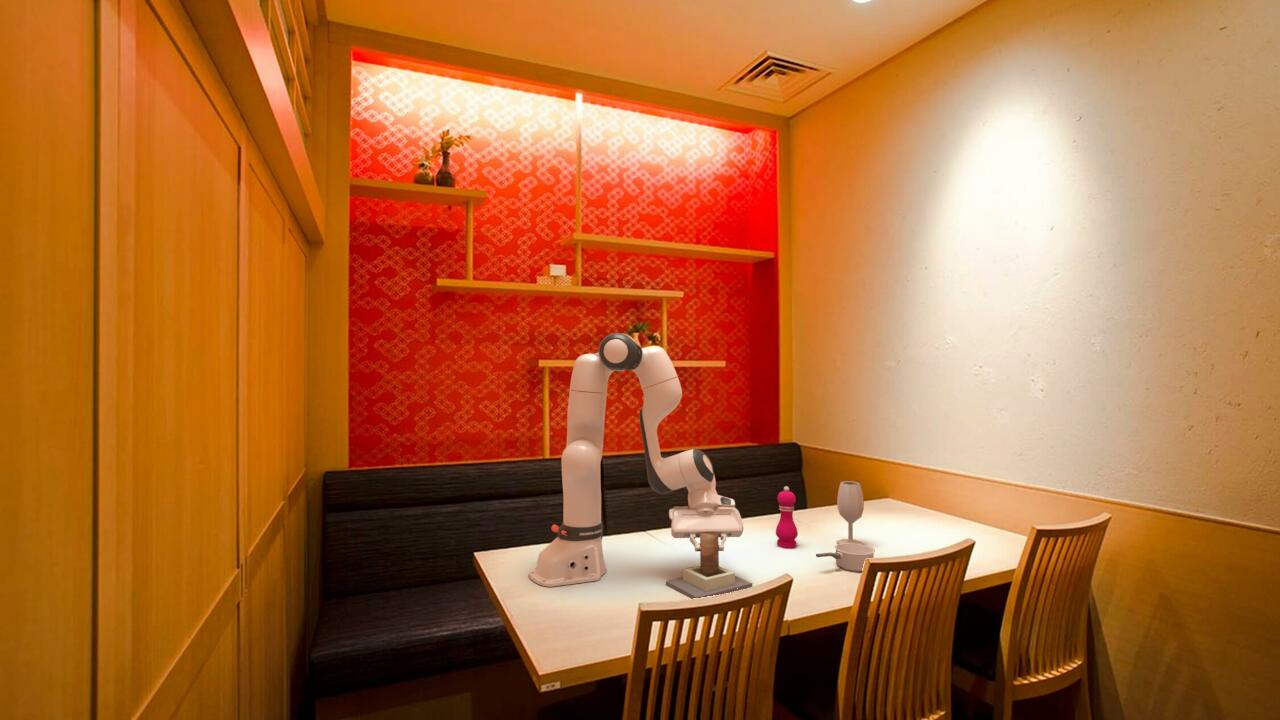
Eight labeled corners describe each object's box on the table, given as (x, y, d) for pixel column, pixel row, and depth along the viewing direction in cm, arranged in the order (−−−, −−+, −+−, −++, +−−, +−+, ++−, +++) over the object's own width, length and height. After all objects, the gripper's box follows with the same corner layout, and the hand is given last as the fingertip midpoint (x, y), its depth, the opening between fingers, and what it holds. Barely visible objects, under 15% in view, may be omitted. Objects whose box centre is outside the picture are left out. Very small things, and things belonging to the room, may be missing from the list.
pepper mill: (798, 549, 195) (798, 488, 196) (775, 548, 197) (775, 488, 197) (797, 543, 202) (796, 484, 203) (775, 542, 204) (775, 484, 204)
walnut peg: (708, 575, 159) (708, 538, 159) (696, 570, 163) (696, 533, 163) (722, 571, 161) (722, 535, 162) (710, 566, 166) (710, 531, 166)
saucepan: (804, 567, 178) (804, 549, 178) (855, 559, 186) (855, 541, 186) (830, 580, 167) (830, 560, 167) (883, 570, 175) (883, 551, 175)
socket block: (697, 601, 151) (697, 585, 151) (665, 584, 163) (665, 570, 163) (752, 586, 161) (752, 572, 161) (718, 572, 173) (718, 558, 173)
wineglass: (831, 542, 203) (831, 481, 204) (853, 540, 206) (852, 480, 206) (847, 550, 195) (847, 486, 195) (870, 547, 198) (869, 484, 198)
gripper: (668, 500, 169) (672, 545, 159) (739, 499, 170) (748, 543, 160) (667, 512, 173) (671, 556, 163) (736, 511, 174) (744, 555, 164)
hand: (709, 550), depth 162 cm, fingers closed on walnut peg, 5 cm apart
